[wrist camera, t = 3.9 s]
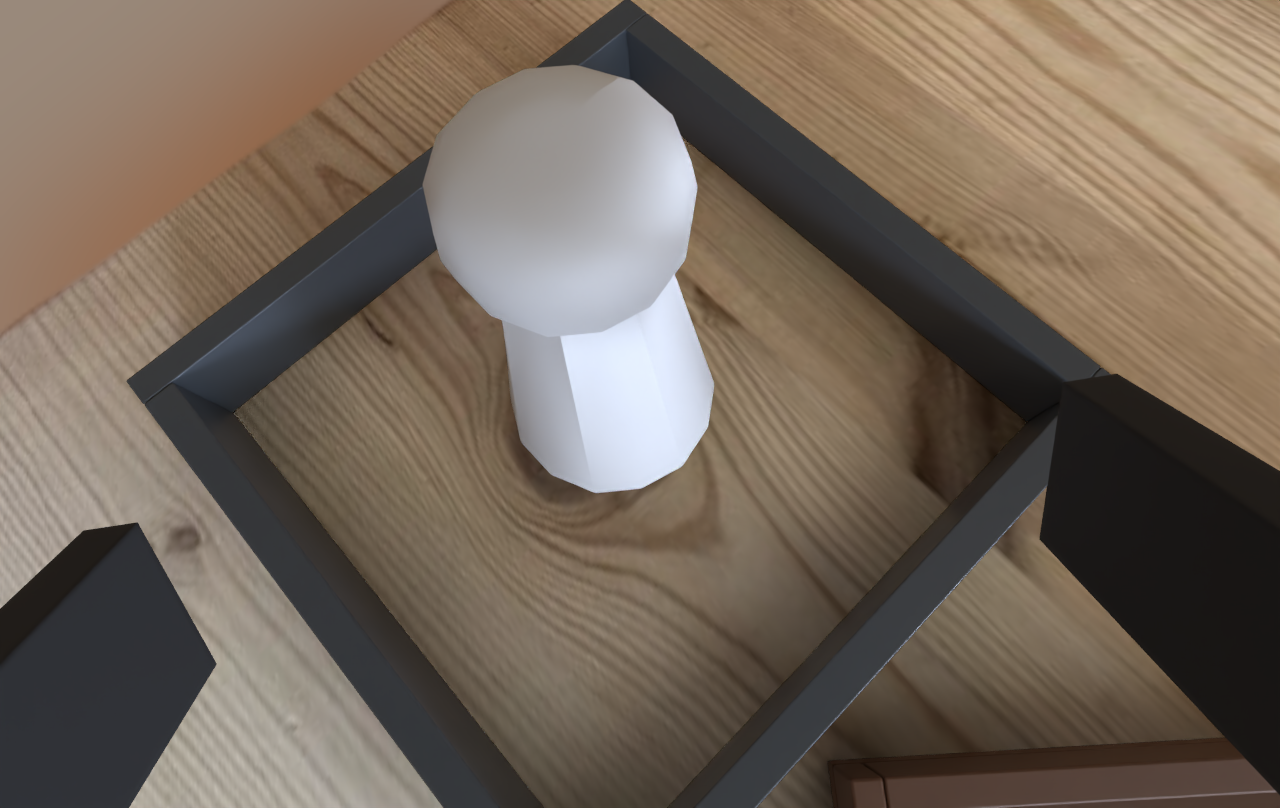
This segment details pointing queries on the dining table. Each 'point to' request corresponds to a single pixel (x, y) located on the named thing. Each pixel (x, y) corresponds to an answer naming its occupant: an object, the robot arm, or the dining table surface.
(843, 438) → the dining table surface
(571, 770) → the dining table surface
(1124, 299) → the dining table surface
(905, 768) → the tray
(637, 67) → the open gray frame
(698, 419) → the salt shaker
